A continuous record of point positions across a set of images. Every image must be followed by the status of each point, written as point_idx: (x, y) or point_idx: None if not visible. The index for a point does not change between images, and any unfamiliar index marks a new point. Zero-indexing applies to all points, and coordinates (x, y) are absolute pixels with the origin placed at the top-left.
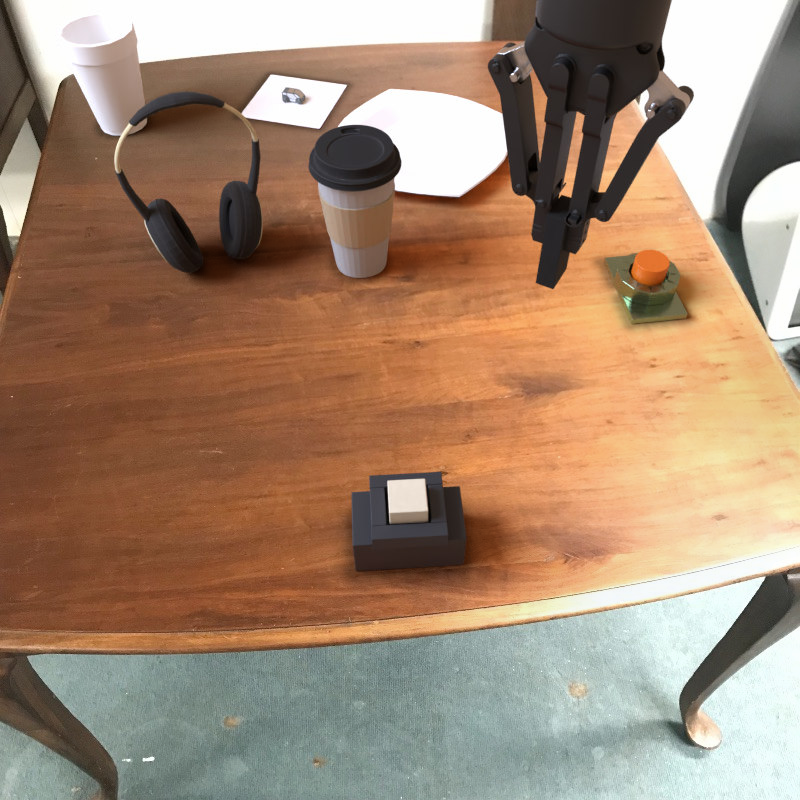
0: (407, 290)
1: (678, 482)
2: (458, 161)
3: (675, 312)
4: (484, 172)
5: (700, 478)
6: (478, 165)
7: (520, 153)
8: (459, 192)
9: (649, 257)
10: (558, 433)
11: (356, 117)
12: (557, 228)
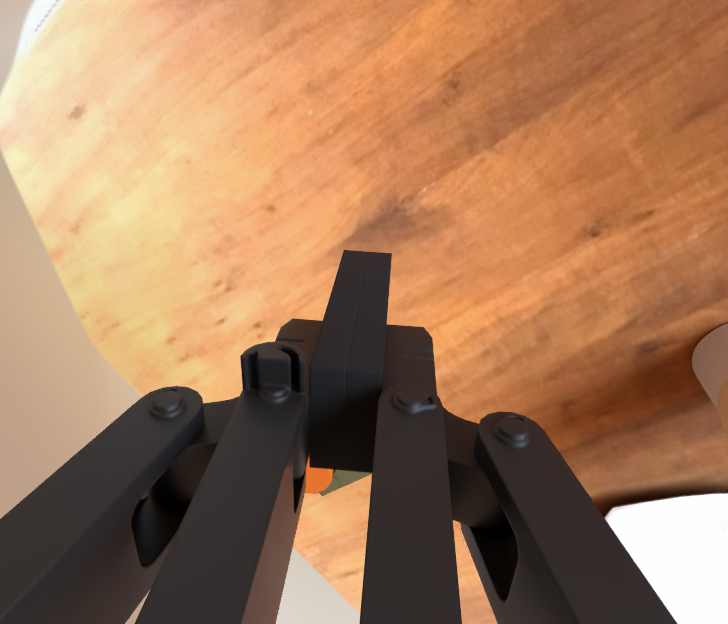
0: (641, 326)
1: (147, 146)
2: None
3: None
4: None
5: (126, 167)
6: None
7: (571, 579)
8: (615, 515)
9: (313, 479)
10: (327, 156)
11: None
12: (341, 347)
